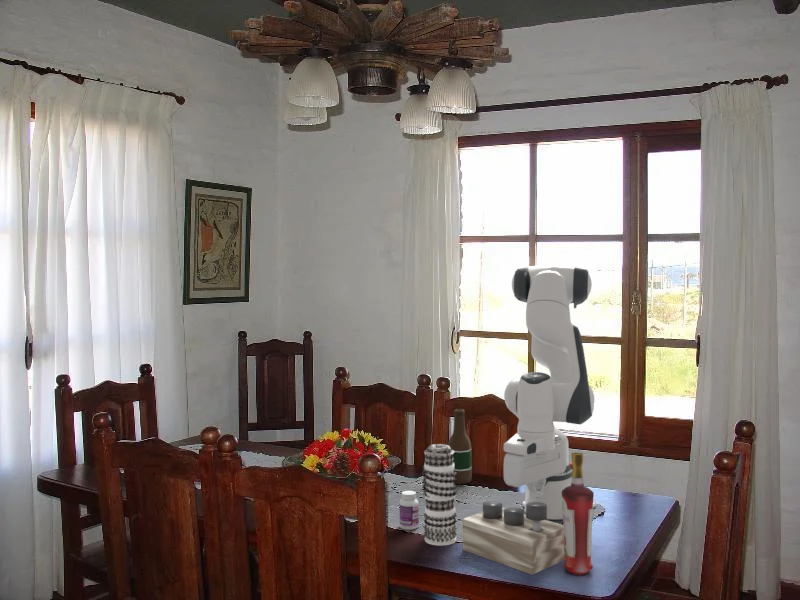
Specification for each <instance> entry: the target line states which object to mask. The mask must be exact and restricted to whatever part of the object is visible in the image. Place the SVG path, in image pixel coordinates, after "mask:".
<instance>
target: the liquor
mask: <svg viewBox="0 0 800 600" xmlns="http://www.w3.org/2000/svg"><path fill="white" fill-rule="evenodd" d="M571 462H572V466H573V468H572V469H571V471H572V479H571V486H568V487H566V488H565V489H563V490H562V511H563V519H562V521H563V522H562V523H563V524H562V525H564V544H565V560H564V561H563V563H562V565H563V567H564V569H565V570H566V571H567V572H569V574H571V575H575V576H585V575H587V574H588V573H589V572H591V571H592V569H593V568H594V566H593V563H592V543H591V541H592V540H593V539H592V536H593V534H592V533H593V522H594V521H593V519H594V518H593V517H594V508H593V502H594V495H595V494H594V491H593V490H592V489H590V487H587V486H585V483H584V473H583V471H584V470H583V465H584V453H583V452H576V451H575V452H571ZM592 542H593V541H592Z"/></svg>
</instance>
